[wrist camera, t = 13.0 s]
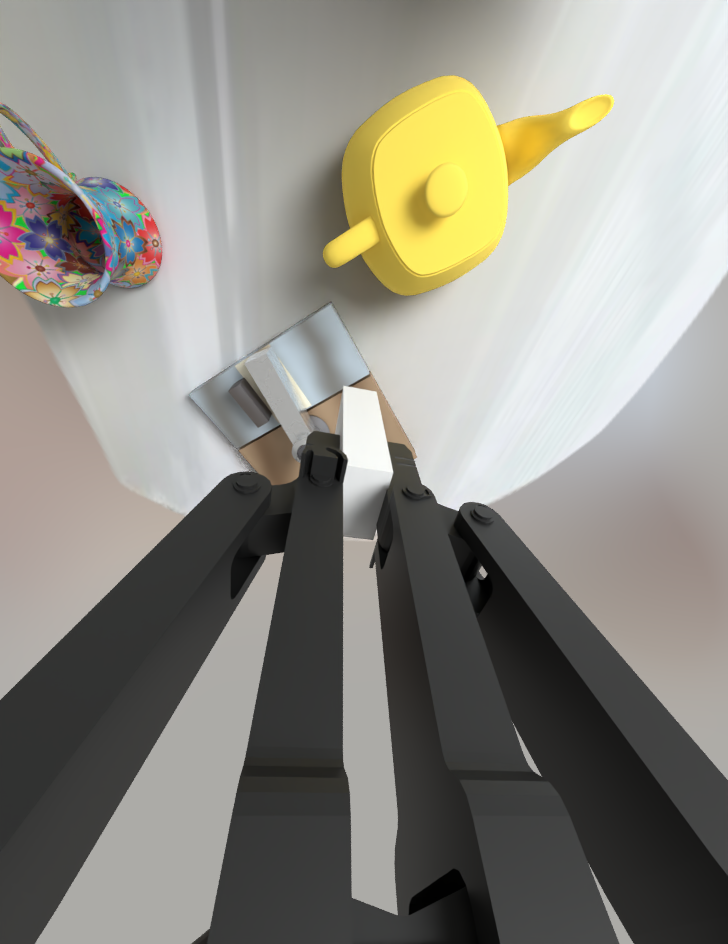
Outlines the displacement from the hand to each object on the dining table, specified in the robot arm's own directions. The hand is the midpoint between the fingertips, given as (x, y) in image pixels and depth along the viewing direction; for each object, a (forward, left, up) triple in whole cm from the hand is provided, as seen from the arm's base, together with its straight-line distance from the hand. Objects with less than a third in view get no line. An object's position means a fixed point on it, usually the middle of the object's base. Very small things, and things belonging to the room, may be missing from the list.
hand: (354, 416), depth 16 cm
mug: (+15, -18, -27) cm, 35 cm away
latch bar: (+10, +4, -24) cm, 26 cm away
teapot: (-11, -5, -27) cm, 29 cm away
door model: (+11, +9, -26) cm, 30 cm away
